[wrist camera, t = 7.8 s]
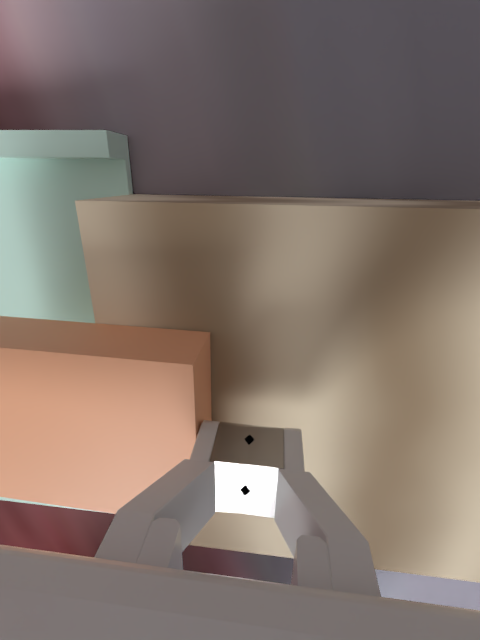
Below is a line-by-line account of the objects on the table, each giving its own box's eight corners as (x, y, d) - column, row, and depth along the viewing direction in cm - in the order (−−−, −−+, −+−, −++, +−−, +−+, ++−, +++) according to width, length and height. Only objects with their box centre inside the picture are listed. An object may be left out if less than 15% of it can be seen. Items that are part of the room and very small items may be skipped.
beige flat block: (723, 205, 11) (941, 219, 7) (559, 508, 16) (639, 603, 13) (133, 194, 13) (74, 200, 9) (161, 466, 19) (131, 537, 15)
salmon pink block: (210, 332, 10) (192, 364, 9) (212, 476, 13) (199, 526, 11) (-50, 312, 11) (-114, 337, 10) (-4, 448, 14) (-48, 489, 12)
